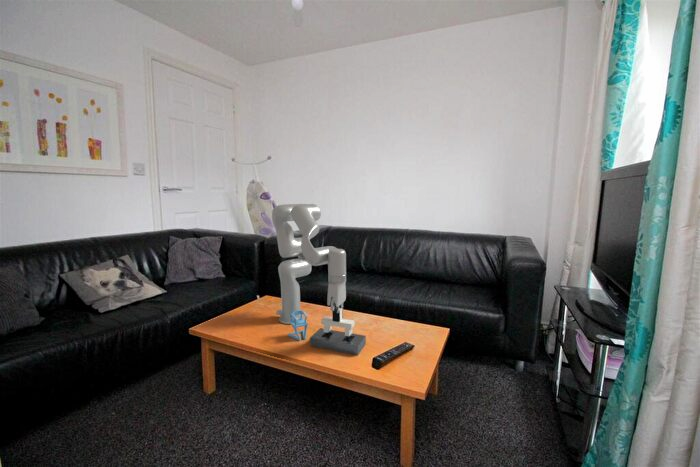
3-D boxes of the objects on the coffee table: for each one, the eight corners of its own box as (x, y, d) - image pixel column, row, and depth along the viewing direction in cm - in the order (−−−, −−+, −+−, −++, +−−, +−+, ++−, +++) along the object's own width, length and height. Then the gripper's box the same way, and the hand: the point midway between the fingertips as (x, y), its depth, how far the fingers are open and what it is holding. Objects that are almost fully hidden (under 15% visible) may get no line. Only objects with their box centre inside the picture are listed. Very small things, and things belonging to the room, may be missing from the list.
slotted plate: (310, 346, 139) (310, 337, 138) (320, 336, 148) (320, 328, 147) (357, 355, 131) (357, 346, 130) (365, 344, 140) (365, 335, 139)
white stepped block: (321, 331, 139) (321, 308, 138) (325, 327, 143) (325, 305, 141) (351, 336, 134) (351, 312, 133) (354, 332, 138) (354, 309, 136)
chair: (294, 342, 142) (294, 317, 140) (287, 335, 149) (287, 311, 147) (310, 338, 146) (310, 313, 144) (303, 331, 153) (302, 307, 151)
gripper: (336, 272, 144) (337, 312, 147) (320, 282, 129) (321, 325, 132) (352, 274, 141) (352, 314, 144) (337, 284, 126) (338, 328, 129)
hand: (337, 319), depth 138 cm, fingers closed on white stepped block, 2 cm apart
